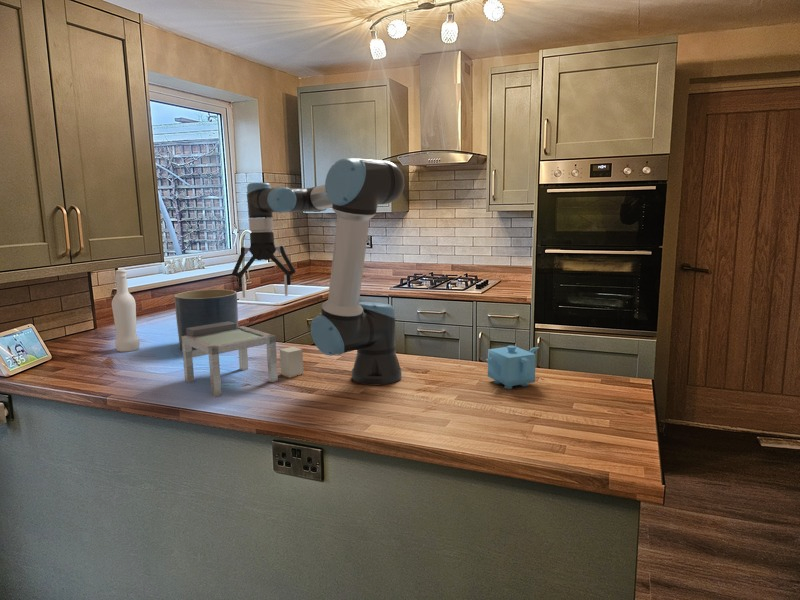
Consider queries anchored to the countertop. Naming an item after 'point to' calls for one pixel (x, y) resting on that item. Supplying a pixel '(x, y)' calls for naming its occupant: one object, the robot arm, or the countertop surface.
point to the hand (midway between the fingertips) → (265, 296)
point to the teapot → (511, 366)
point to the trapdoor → (219, 333)
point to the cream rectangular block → (291, 361)
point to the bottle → (124, 315)
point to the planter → (204, 309)
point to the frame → (215, 350)
